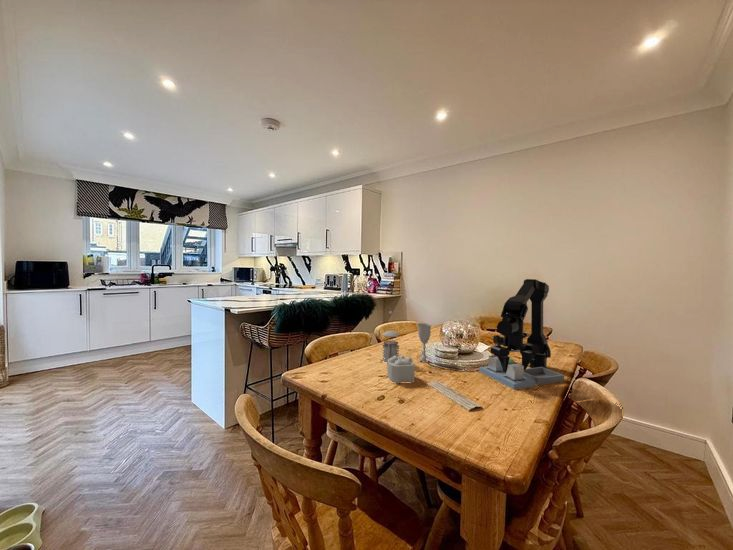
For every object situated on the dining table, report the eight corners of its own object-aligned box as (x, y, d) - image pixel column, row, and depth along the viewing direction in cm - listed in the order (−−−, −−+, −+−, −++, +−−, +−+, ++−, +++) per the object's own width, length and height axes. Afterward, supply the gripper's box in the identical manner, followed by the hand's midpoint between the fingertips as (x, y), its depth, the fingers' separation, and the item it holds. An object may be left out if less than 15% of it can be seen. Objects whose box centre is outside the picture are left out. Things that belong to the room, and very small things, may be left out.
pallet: (497, 370, 136) (497, 365, 136) (534, 387, 117) (534, 381, 117) (478, 372, 133) (479, 367, 133) (513, 390, 114) (513, 384, 114)
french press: (400, 359, 152) (401, 309, 151) (401, 367, 140) (401, 313, 139) (381, 358, 153) (381, 309, 152) (379, 366, 141) (380, 312, 140)
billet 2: (514, 381, 123) (515, 361, 123) (523, 385, 119) (523, 365, 118) (505, 383, 122) (506, 362, 121) (514, 387, 117) (514, 366, 117)
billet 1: (497, 373, 132) (497, 354, 132) (504, 376, 128) (504, 357, 128) (488, 374, 131) (488, 355, 131) (495, 378, 127) (496, 358, 127)
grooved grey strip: (427, 386, 119) (427, 382, 119) (441, 384, 122) (442, 379, 122) (468, 413, 97) (468, 408, 97) (485, 409, 100) (485, 404, 100)
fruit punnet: (391, 384, 119) (392, 363, 119) (384, 373, 132) (384, 353, 132) (417, 383, 121) (417, 361, 121) (407, 371, 134) (407, 352, 134)
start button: (508, 364, 140) (509, 357, 140) (515, 367, 136) (515, 360, 136) (501, 365, 139) (501, 358, 139) (508, 367, 135) (508, 361, 135)
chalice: (427, 364, 144) (427, 326, 144) (414, 361, 149) (414, 324, 148) (433, 360, 150) (434, 324, 150) (421, 357, 154) (421, 322, 154)
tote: (541, 373, 132) (541, 366, 132) (564, 382, 122) (564, 375, 122) (516, 376, 128) (516, 369, 128) (537, 386, 118) (537, 378, 118)
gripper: (518, 326, 130) (517, 362, 130) (481, 329, 124) (481, 366, 125) (540, 332, 119) (539, 371, 120) (501, 335, 114) (500, 376, 114)
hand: (514, 371), depth 120 cm, fingers open, 9 cm apart
